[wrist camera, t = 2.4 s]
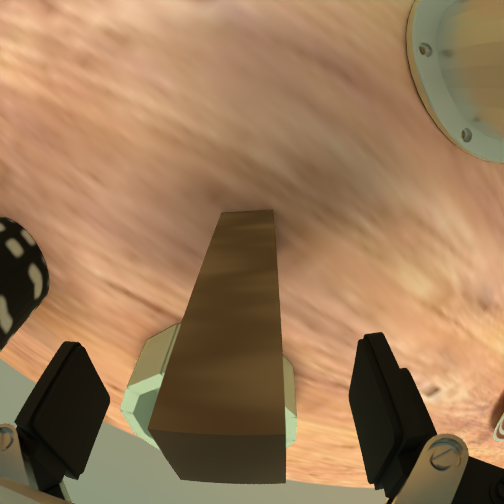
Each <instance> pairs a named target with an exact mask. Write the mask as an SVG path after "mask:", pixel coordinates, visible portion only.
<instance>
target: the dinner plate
mask: <svg viewBox="0 0 504 504" xmlns="http://www.w3.org/2000/svg"><path fill="white" fill-rule="evenodd" d="M493 439H494V440H495V441H497V442H504V413H503V415H502V416H501V418H500V420H499V422H498V424H497V426H496V428H495V430H494V433H493Z"/></svg>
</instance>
